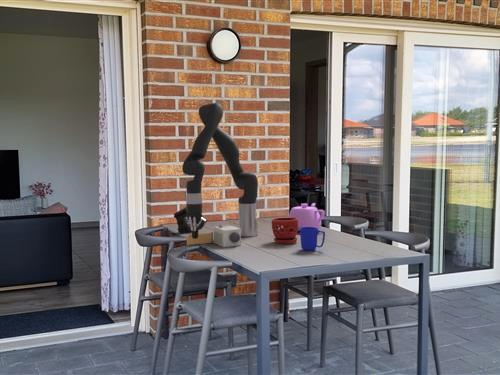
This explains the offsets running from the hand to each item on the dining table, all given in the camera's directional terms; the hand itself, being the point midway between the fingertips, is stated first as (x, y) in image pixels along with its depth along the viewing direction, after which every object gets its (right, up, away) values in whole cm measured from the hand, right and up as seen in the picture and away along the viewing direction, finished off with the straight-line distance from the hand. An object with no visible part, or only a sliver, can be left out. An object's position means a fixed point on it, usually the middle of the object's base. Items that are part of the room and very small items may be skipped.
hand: (195, 238), depth 275 cm
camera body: (+15, -3, +7) cm, 17 cm away
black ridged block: (-9, -1, +41) cm, 42 cm away
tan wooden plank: (+2, -3, +7) cm, 8 cm away
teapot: (+57, 0, +45) cm, 72 cm away
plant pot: (+44, -3, +9) cm, 45 cm away
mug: (+55, -5, -11) cm, 56 cm away
